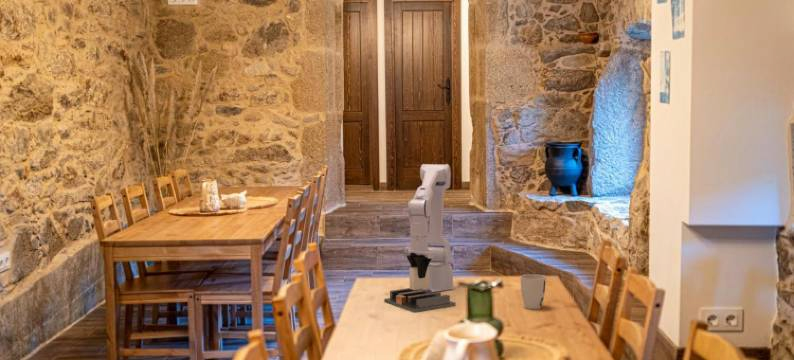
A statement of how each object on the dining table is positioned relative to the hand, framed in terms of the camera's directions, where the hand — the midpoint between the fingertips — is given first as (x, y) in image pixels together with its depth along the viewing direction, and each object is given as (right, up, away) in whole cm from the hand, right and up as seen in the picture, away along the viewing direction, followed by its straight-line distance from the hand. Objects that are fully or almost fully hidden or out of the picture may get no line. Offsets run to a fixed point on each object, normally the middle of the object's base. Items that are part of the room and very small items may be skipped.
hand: (419, 277), depth 295 cm
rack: (0, -9, +1) cm, 9 cm away
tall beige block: (0, -4, 0) cm, 4 cm away
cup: (+36, -9, -6) cm, 38 cm away
